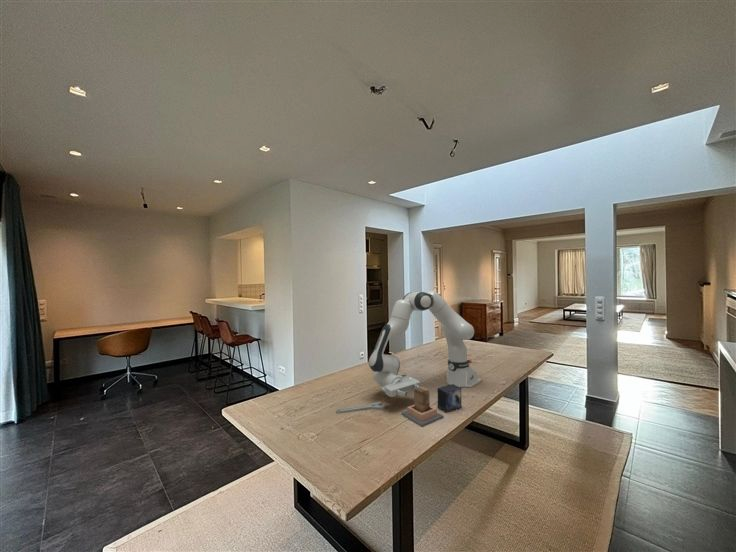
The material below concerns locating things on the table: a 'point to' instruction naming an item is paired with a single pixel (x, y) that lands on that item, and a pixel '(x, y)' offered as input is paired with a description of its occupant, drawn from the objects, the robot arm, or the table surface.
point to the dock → (422, 415)
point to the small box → (449, 398)
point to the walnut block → (421, 399)
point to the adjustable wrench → (362, 408)
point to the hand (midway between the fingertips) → (412, 392)
